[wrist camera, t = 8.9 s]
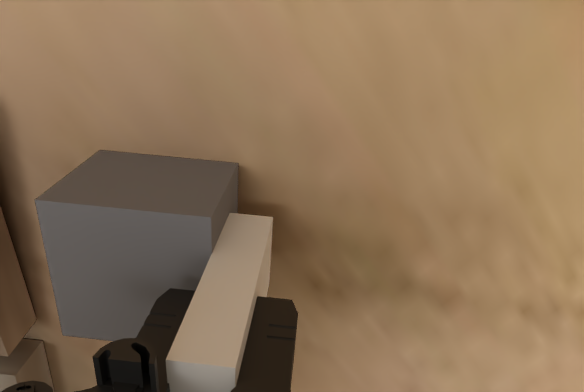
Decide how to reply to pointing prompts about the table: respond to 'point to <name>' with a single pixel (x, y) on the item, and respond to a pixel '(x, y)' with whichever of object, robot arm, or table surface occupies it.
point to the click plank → (12, 296)
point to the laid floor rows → (25, 364)
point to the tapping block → (130, 235)
